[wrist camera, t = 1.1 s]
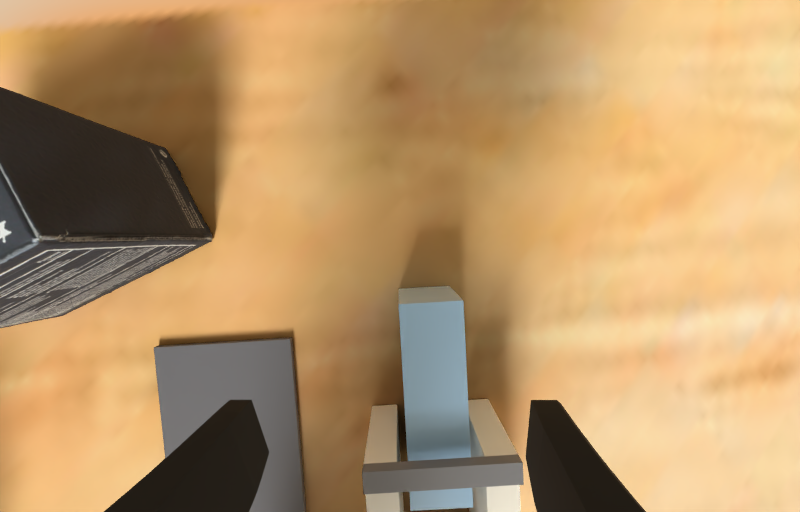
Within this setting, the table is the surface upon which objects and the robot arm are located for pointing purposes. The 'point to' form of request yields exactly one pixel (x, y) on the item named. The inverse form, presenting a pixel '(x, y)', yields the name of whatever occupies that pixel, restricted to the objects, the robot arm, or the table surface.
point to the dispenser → (443, 464)
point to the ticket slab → (435, 386)
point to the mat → (238, 380)
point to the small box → (82, 210)
